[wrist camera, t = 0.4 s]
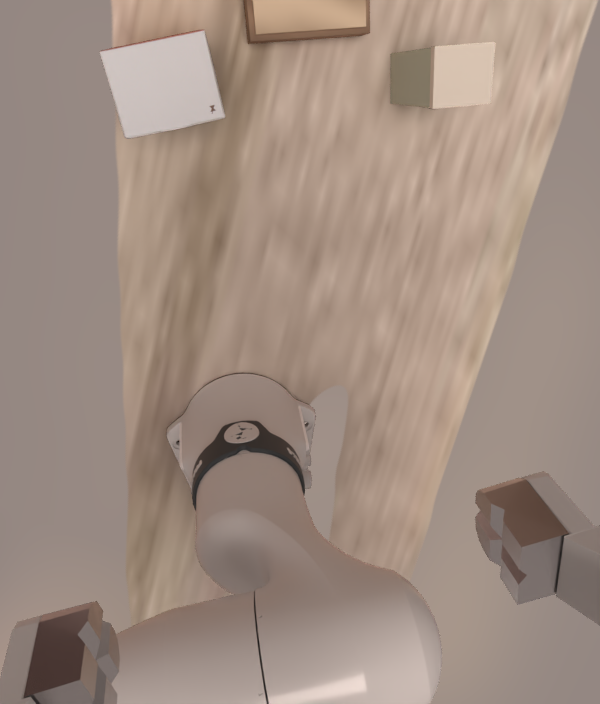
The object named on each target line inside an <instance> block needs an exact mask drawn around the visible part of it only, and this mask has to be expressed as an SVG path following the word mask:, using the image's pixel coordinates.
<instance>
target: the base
mask: <svg viewBox="0 0 600 704" xmlns="http://www.w3.org/2000/svg"><path fill="white" fill-rule="evenodd" d="M244 9H245V19H246V29H247V39H248V44H254V43H268V42H281V41H295V40H309V39H323V38H337V37H351V36H362V35H365V34H368V33H370V1H369V0H244Z"/></svg>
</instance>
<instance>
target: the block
mask: <svg viewBox="0 0 600 704" xmlns="http://www.w3.org/2000/svg"><path fill="white" fill-rule="evenodd" d="M494 55H495V42H485V43H471V44H458V45H445V46H433V47H431V48H425V49H419V50H412V51H406V52H399V53H393V54H391V86H390V103H391V104H400V105H409V106H418V107H427V108H429V109H437V108H449V107H460V106H472V105H483V104H491V95H492V82H493V68H494Z"/></svg>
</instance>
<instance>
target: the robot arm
mask: <svg viewBox="0 0 600 704" xmlns="http://www.w3.org/2000/svg"><path fill="white" fill-rule="evenodd" d="M315 417H316V416H315V410H314V409H313V408H312V407H311V406H310V405H308V404H306V403H303V402H301V401H298V400H296V399H295V398H293V397H292V396H291V395H290V394H289V393H288V392H287V391H286V390H285V389H284V388H283V387H282V386H281V385H280V384H278V383H277V382H275V381H273V380H271V379H269V378H266V377H263V376H259V375H254V374H234V375H229V376H225V377H222V378H219V379H217V380H214V381H213V382H211V383H209V384H207V385H206V386H205V387H203V388H202V389H201V390H200V391H199V392H198V393H197V394H196V395H195V396H194V397H193V399H192V400H191V402H190V403H189V405H188V407H187V409H186V411H185V412H184V414H183V415H182V416H181V417H180V418H178V419H177V420H176V421H175V422H173V423H172V424H171V425H170V426H169V427H168V429H167V432H166V433H167V439H168V442H169V444H170V446H171V448H172V450H173V452H174V454H175V456H176V458H177V461H178V463H179V465H180V468H181V469H182V471H183V473H184V475H185V478H186V480H187V482H188V484H189V486H190V488H191V494H192V499H193V505H194V508H195V510H196V540H195V547H196V553H197V557H198V560H199V563H200V565H201V567H202V568H203V570H204V571H205V572H206V574H207V575H208V576H209V577H210V578H211V579H212V580H213V581H214V582H215V583H217V584H218V585H219V586H220V587H221V588H223V589H224V590H226V591H227V592H229V593H231V594H234V595H231V596H227V597H222V598H218V599H213V600H209V601H204V602H200V603H195V604H191V605H187V606H182V607H178V608H173V609H171V610H168V611H166V612H163V613H161V614H159V615H156V616H154V617H152V618H149V619H147V620H145V621H143V622H141V623H138V624H136V625H134V626H132V627H130V628H128V629H126V630H124V631H122V632H120V633H118V634H116V633H115V630H114V629H113V627H112V625H111V624H110V623H108V622H105V621H102V617H103V610H102V608H101V607H100V605H99V604H98V602H97V601H95V602H90V603H87V604H83V605H79V606H75V607H71V608H67V609H64V610H60V611H56V612H52V613H48V614H44V615H41V616H37V617H34V618H30V619H26V620H23V621H19V622H17V624H16V625H15V627H14V629H13V630H12V633H11V637H10V641H9V645H8V649H7V653H6V657H5V661H4V665H3V668H2V672H1V676H0V704H430V703H431V701H432V698H433V697H434V695H435V692H436V689H437V687H438V683H439V679H440V674H441V666H442V648H441V640H440V634H439V630H438V627H437V624H436V621H435V618H434V616H433V614H432V612H431V610H430V608H429V606H428V604H427V603H426V601H425V600H424V598H423V597H422V595H421V594H420V593H419V592H418V590H417V589H416V588H415V587H414V586H413V585H412V584H411V583H410V582H409V581H408V580H406V579H405V578H404V577H402V576H401V575H400V574H398V573H396V572H395V571H393V570H389V569H385V568H381V567H377V566H374V565H371V564H368V563H365V562H362V561H360V560H358V559H356V558H353V557H352V556H350V555H348V554H346V553H344V552H343V551H341V550H340V549H338V548H337V547H335V546H334V545H332V544H331V543H330V542H329V541H327V540H326V539H325V538H324V537H323V536H322V535H321V534H320V533H319V532H318V530H317V529H316V527H315V526H314V524H313V521H312V518H311V516H310V513H309V511H308V508H307V505H306V501H305V498H304V493H305V489H309V488H311V482H312V478H311V472H310V471H309V470H307V469H308V466H310V465H311V456H310V450H311V444H312V437H313V430H314V424H315ZM304 422H308V423H307V424H304ZM178 440H180V442H177V441H178ZM476 504H477V506H478V507H479V509H480V512H479V513H478V514H477V516H476V517H475V520H476V531H477V534H478V538H479V541H480V543H481V546H482V548H483V550H484V551H485V553H486V555H487V557H488V558H489V560H490V561H492V562H494V563H496V564H498V565H500V566H501V573H500V577H501V580H502V581H503V583H504V584H505V586H506V588H507V589H508V590H509V592H510V594H511V596H512V597H513V599H514V600H515V602H516V603H517V605H518V604H522V603H525V602H529V601H533V600H536V599H540V598H543V597H547V596H550V595H554V594H556V596H557V597H558V598H560V599H561V600H562V601H564V602H566V603H567V604H569V605H570V606H571V607H573V608H575V609H576V610H578V611H579V612H580V613H582V614H583V615H585V616H586V617H588V618H589V619H591V620H592V621H594V622H595V623H597V624H598V625H600V526H596V527H595V526H594V525H593V524H592V523H591V522H590V520H589V519H588V518H587V517H586V516H585V515H584V514H583V512H582V511H581V510H580V509H579V508H578V507H577V506H576V505H575V503H574V502H573V501H572V500H571V499H570V498H569V497H568V495H567V494H566V493H565V492H564V491H563V490H562V489H561V488H560V486H559V485H558V484H557V483H556V482H555V481H554V480H553V478H552V477H551V476H550V475H549V474H548V473H546V472H544V471H543V472H539V473H535V474H532V475H528V476H525V477H522V478H516V479H513V480H510V481H506V482H503V483H500V484H497V485H494V486H490V487H487V488H484V489H480V490H478V491H477V493H476Z"/></svg>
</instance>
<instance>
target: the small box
mask: <svg viewBox="0 0 600 704" xmlns="http://www.w3.org/2000/svg"><path fill="white" fill-rule="evenodd" d="M100 56H101V60H102V63H103V66H104V70H105V73H106V76H107V80H108V83H109V86H110V90H111V93H112V97H113V100H114V103H115V107H116V110H117V114H118V117H119V120H120V124H121V127H122V130H123V134H124V137H125V138H127V139H130V138H135V137H140V136H146V135H151V134H156V133H161V132H166V131H171V130H177V129H181V128H186V127H190V126H193V125H197V124H201V123H206V122H210V121H215V120H219V119H223V118H225V113H224V108H223V104H222V99H221V95H220V90H219V86H218V82H217V78H216V73H215V69H214V65H213V61H212V57H211V53H210V49H209V45H208V41H207V37H206V34H205V31H204V30H197V31H192V32H187V33H182V34H177V35H172V36H167V37H163V38H158V39H153V40H148V41H143V42H139V43H134V44H130V45H125V46H120V47H115V48H111V49H106V50H102V51H100Z"/></svg>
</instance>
